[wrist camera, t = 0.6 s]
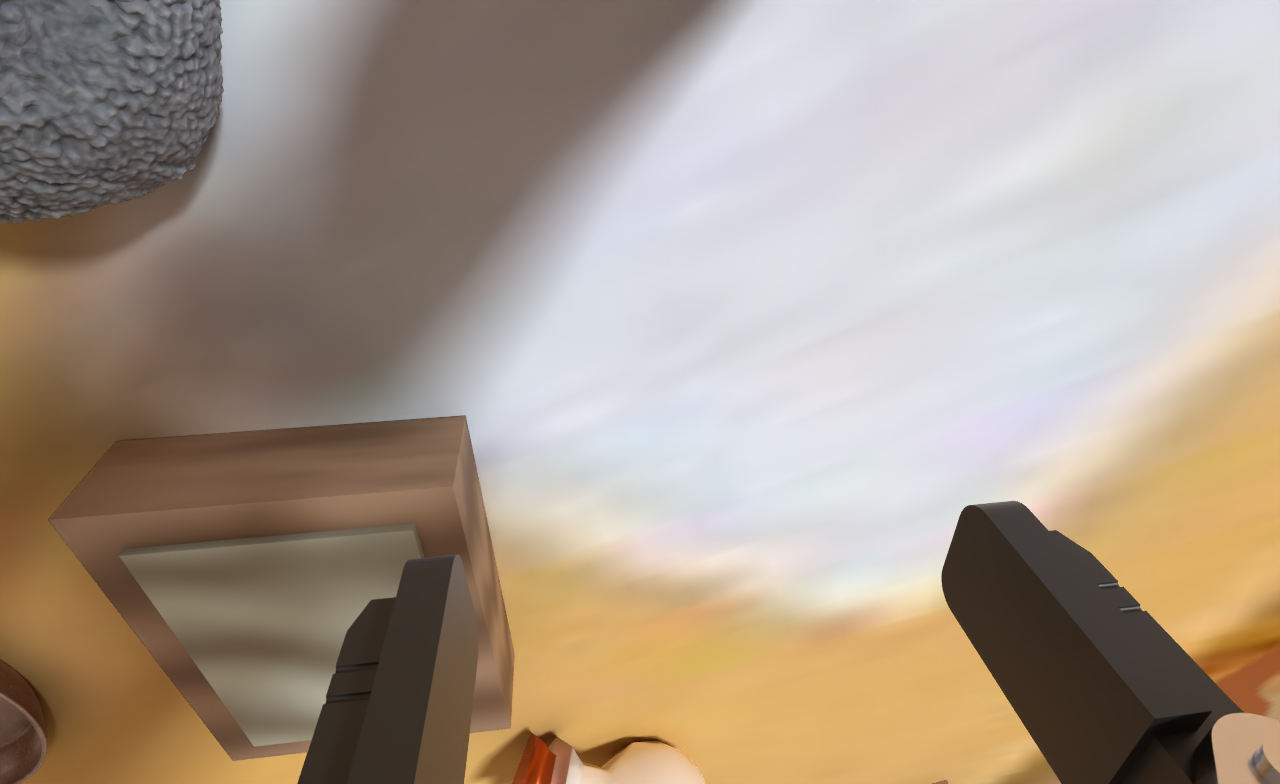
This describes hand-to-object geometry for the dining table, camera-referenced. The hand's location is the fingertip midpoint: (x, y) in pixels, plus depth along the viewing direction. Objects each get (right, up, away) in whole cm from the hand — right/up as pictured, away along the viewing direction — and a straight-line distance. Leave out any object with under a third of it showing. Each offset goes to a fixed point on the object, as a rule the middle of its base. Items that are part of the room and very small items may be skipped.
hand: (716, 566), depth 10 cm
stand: (-18, -7, +26) cm, 32 cm away
